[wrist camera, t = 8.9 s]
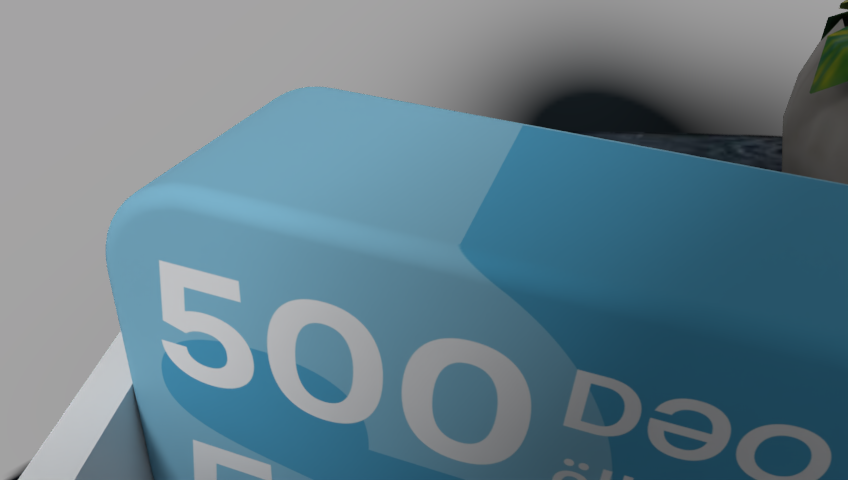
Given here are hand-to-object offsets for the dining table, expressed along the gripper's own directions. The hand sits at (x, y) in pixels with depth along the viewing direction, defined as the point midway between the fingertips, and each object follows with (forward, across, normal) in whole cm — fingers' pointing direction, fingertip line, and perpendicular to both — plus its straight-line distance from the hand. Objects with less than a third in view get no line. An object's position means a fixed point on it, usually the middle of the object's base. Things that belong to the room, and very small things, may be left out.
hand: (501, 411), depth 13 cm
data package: (-1, 0, -7) cm, 7 cm away
